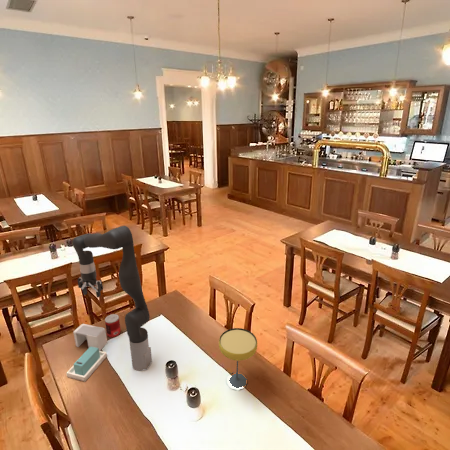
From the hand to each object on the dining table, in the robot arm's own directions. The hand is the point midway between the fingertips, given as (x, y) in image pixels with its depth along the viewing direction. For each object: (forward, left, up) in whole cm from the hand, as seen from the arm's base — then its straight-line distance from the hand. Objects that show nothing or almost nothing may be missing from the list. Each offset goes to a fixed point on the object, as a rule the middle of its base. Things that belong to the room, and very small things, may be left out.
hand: (92, 295), depth 174 cm
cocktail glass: (-86, +9, -28) cm, 91 cm away
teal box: (-9, +21, -28) cm, 36 cm away
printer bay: (-1, +7, -28) cm, 29 cm away
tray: (-9, +21, -28) cm, 36 cm away
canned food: (-7, -5, -28) cm, 30 cm away
